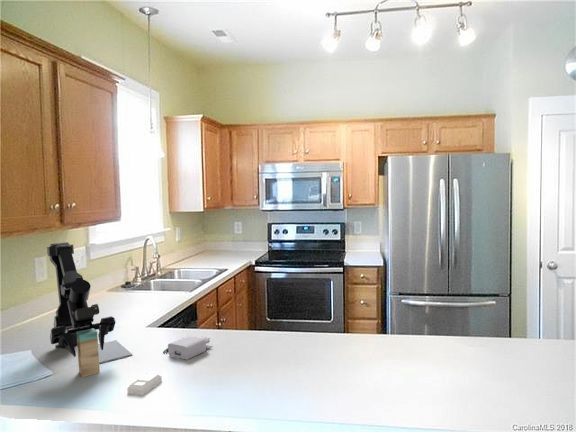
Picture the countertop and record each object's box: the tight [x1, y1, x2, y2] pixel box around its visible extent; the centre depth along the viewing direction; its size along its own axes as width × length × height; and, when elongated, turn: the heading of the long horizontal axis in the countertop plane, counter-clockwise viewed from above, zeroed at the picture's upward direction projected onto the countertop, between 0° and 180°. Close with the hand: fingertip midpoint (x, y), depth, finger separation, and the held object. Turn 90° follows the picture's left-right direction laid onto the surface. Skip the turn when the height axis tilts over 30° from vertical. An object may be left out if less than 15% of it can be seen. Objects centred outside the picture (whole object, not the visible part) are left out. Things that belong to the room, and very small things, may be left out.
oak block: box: [76, 328, 101, 378], centre depth 133 cm, size 5×5×13 cm
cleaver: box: [162, 337, 184, 354], centre depth 155 cm, size 17×1×5 cm
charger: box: [167, 335, 211, 361], centre depth 148 cm, size 5×9×15 cm
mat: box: [98, 340, 133, 365], centre depth 150 cm, size 20×12×1 cm, turn 37°
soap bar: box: [126, 373, 162, 396], centre depth 120 cm, size 5×9×3 cm, turn 163°
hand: (89, 352), depth 132 cm, fingers open, 8 cm apart
